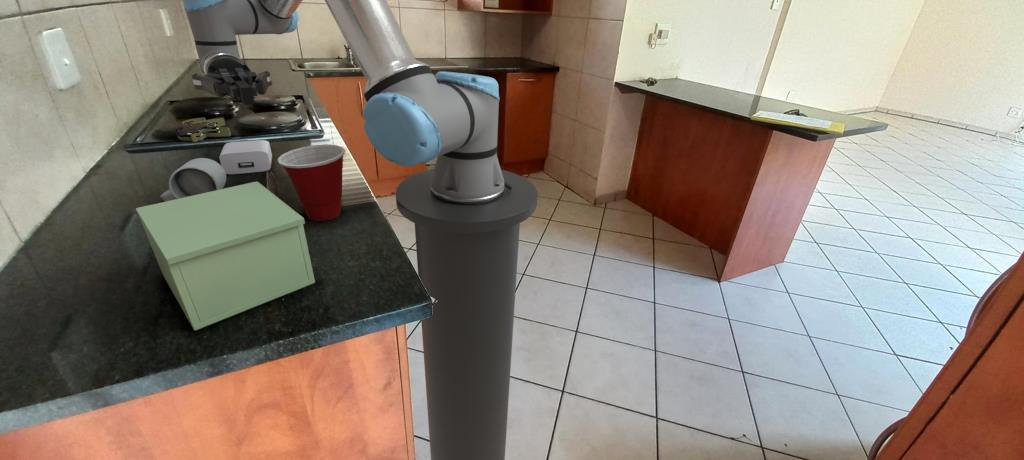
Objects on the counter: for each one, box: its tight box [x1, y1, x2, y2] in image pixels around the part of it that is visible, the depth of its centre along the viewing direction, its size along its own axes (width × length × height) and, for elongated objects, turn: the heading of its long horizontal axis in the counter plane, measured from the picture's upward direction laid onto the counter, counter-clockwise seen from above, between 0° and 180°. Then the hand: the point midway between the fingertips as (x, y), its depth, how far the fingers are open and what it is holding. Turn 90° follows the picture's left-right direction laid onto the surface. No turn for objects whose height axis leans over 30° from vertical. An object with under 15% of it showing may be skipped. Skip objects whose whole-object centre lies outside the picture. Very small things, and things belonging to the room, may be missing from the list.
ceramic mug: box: [159, 157, 227, 202], centre depth 80 cm, size 11×8×8 cm
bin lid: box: [135, 181, 306, 265], centre depth 55 cm, size 16×15×1 cm
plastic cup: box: [277, 143, 346, 222], centre depth 76 cm, size 11×11×12 cm
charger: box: [218, 139, 273, 175], centre depth 100 cm, size 5×9×15 cm
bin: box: [137, 214, 316, 331], centre depth 58 cm, size 16×15×10 cm
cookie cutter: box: [176, 117, 232, 143], centre depth 119 cm, size 18×12×2 cm, turn 36°
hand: (248, 96), depth 69 cm, fingers closed
